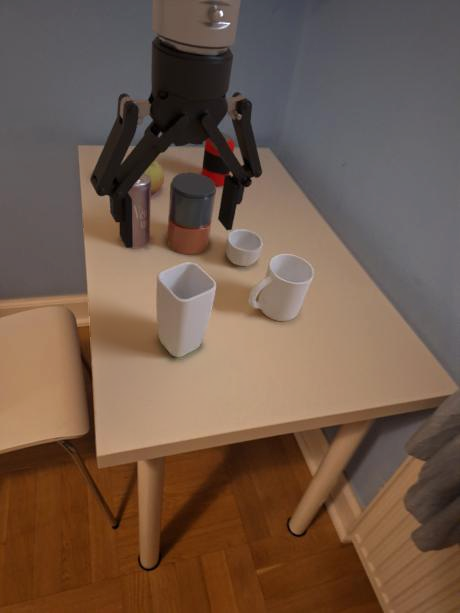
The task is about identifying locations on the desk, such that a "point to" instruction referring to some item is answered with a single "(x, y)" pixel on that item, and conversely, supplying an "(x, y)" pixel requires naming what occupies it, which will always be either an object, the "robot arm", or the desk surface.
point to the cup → (183, 307)
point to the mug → (283, 287)
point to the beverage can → (141, 211)
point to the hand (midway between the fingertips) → (178, 232)
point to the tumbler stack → (190, 213)
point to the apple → (155, 176)
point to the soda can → (216, 162)
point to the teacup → (243, 247)
